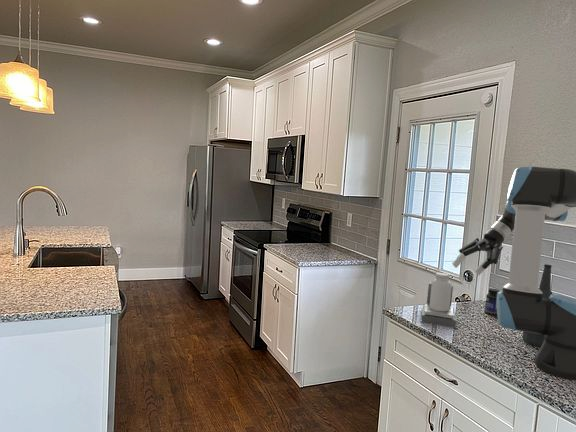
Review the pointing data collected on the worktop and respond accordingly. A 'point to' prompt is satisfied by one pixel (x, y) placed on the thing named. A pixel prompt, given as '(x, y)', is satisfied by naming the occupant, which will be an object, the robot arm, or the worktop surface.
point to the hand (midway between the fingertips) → (465, 269)
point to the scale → (437, 319)
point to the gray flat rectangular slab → (438, 312)
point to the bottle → (546, 292)
